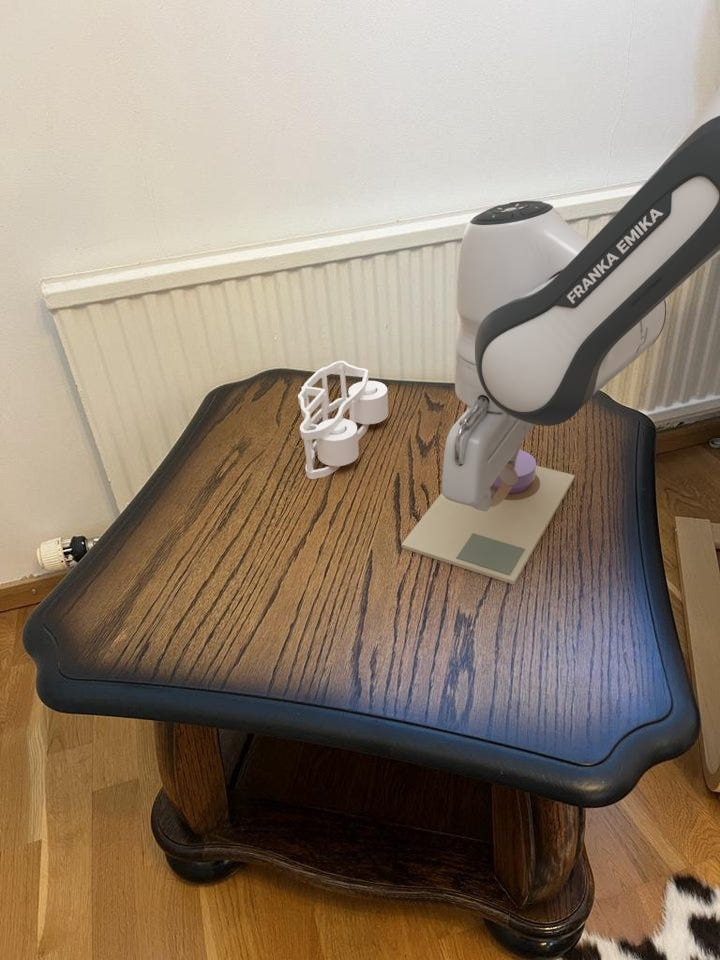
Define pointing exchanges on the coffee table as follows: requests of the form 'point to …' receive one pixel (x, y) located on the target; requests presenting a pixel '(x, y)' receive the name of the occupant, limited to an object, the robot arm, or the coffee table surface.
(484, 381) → the robot arm
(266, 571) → the coffee table surface
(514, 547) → the mat
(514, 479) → the perforated watch strap
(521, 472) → the lavender hockey puck
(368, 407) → the car outline toy
